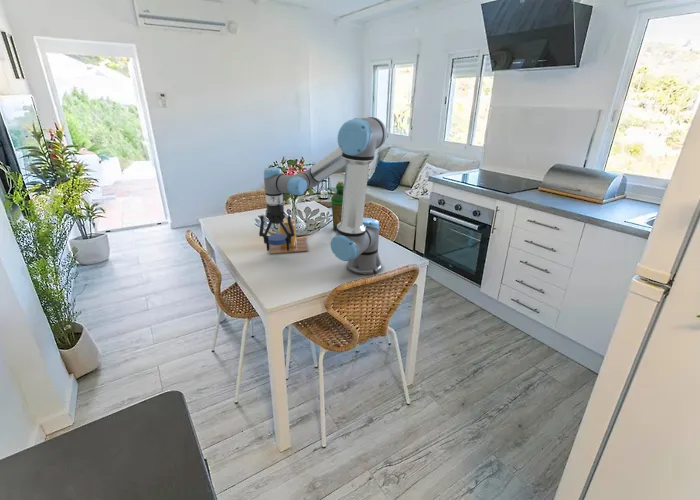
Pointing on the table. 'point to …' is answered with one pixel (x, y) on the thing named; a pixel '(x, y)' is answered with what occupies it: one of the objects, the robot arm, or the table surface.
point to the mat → (298, 247)
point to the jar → (281, 231)
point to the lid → (277, 239)
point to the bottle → (337, 204)
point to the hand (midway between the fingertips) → (278, 249)
